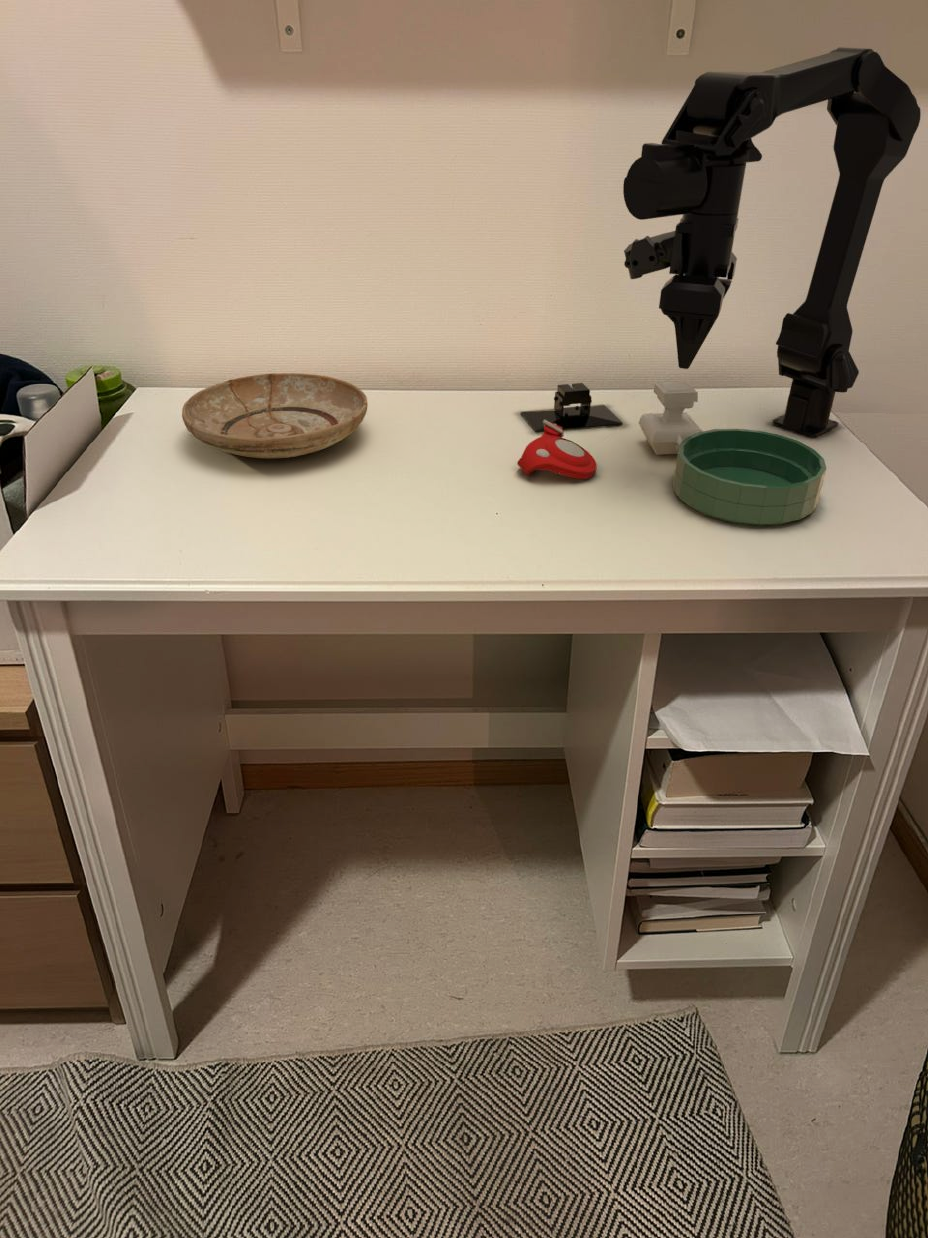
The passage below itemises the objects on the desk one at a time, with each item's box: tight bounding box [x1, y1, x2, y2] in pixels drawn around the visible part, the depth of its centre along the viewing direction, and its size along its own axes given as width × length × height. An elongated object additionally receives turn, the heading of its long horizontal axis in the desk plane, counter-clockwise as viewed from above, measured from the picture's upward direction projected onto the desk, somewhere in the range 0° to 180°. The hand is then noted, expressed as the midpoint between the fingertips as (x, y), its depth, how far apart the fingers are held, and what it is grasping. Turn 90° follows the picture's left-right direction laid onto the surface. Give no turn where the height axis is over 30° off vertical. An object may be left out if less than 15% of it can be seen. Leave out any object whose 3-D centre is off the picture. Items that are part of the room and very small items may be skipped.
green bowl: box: [672, 428, 827, 527], centre depth 105 cm, size 16×16×5 cm
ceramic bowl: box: [181, 372, 369, 459], centre depth 118 cm, size 23×24×5 cm
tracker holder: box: [517, 420, 598, 480], centre depth 112 cm, size 12×4×10 cm
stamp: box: [638, 381, 703, 455], centre depth 115 cm, size 9×7×8 cm
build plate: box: [520, 382, 623, 434], centre depth 124 cm, size 12×7×5 cm, turn 105°
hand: (688, 355), depth 106 cm, fingers open, 9 cm apart
